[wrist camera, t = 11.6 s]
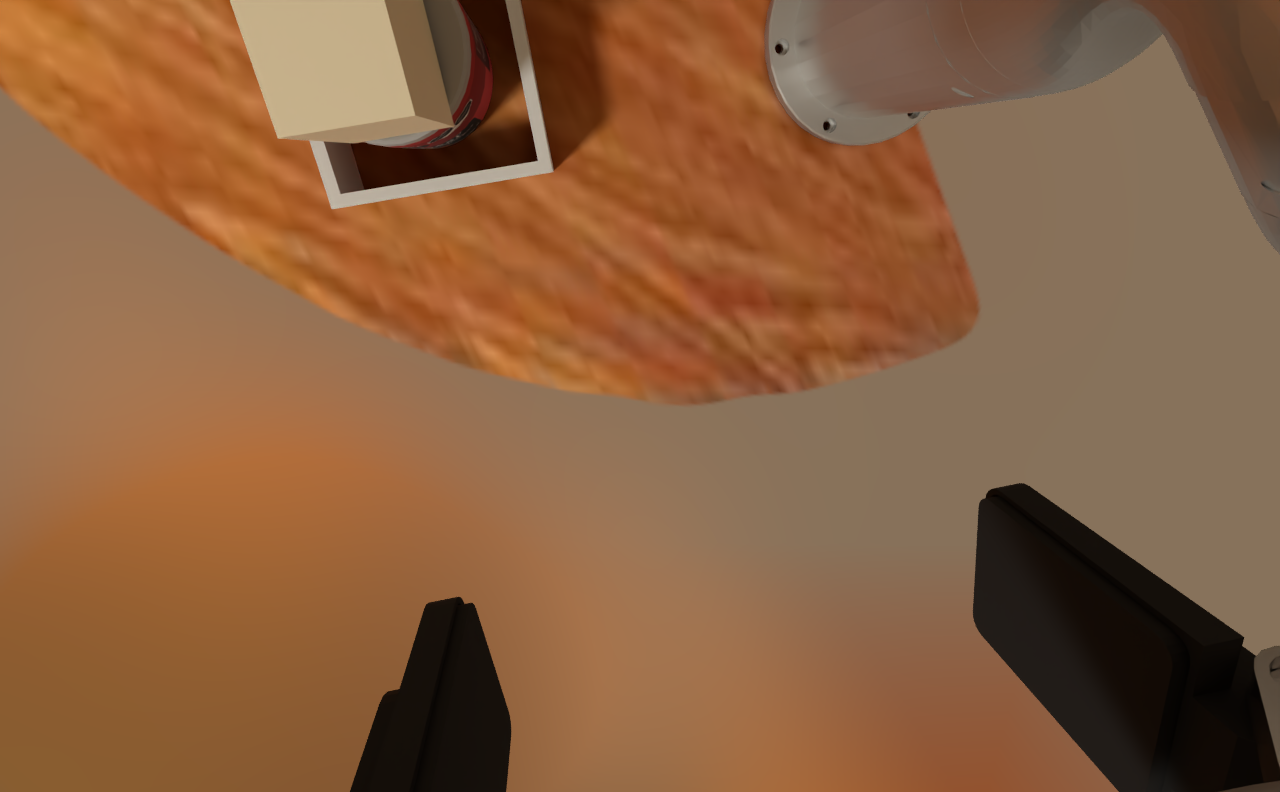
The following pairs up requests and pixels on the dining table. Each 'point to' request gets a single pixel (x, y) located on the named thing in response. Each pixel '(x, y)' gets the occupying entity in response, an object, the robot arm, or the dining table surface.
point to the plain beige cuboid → (345, 67)
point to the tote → (349, 189)
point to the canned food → (454, 76)
